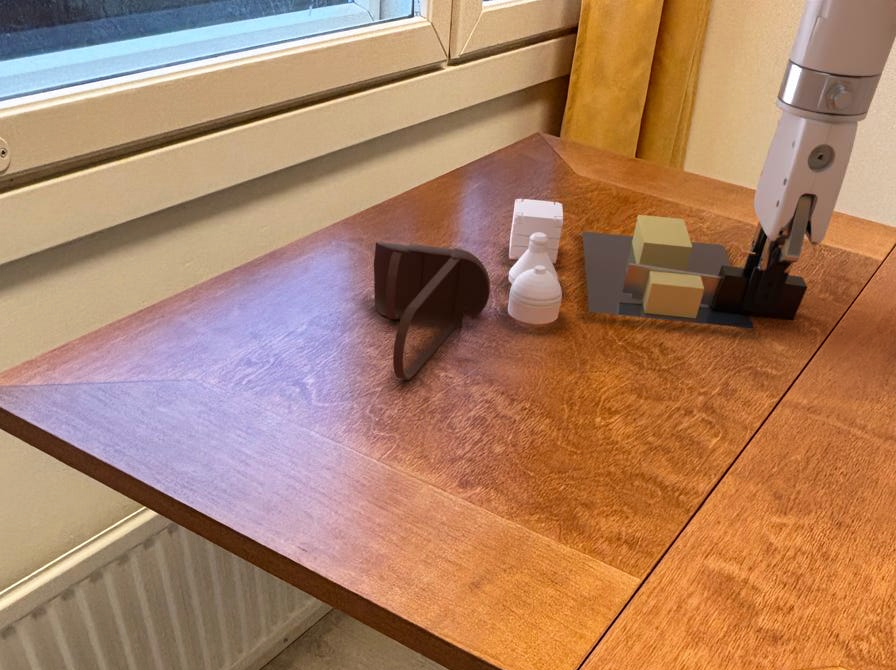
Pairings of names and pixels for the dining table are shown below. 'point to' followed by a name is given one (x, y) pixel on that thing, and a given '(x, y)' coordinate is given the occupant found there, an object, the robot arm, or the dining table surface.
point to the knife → (725, 289)
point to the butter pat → (672, 294)
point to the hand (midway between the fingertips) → (755, 301)
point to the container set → (535, 261)
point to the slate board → (605, 295)
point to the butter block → (661, 242)
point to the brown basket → (427, 292)
